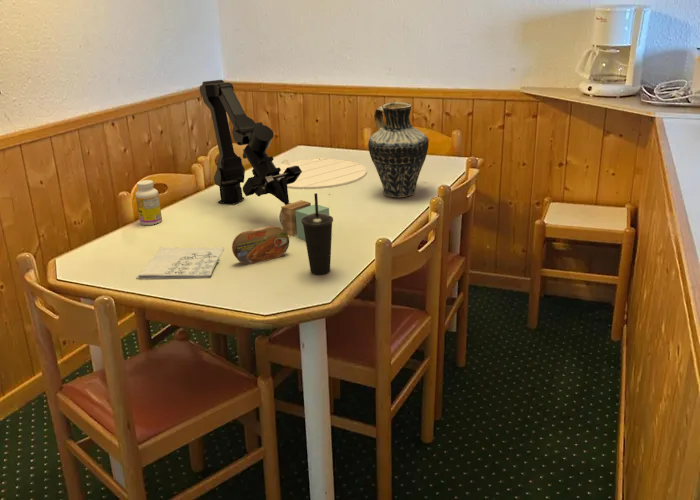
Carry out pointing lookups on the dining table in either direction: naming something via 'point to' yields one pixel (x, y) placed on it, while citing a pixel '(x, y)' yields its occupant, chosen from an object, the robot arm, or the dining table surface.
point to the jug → (397, 149)
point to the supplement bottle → (148, 203)
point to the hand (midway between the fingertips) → (287, 203)
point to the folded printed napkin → (182, 263)
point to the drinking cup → (318, 240)
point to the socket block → (305, 212)
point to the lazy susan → (324, 173)
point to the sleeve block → (292, 216)
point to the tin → (260, 244)
